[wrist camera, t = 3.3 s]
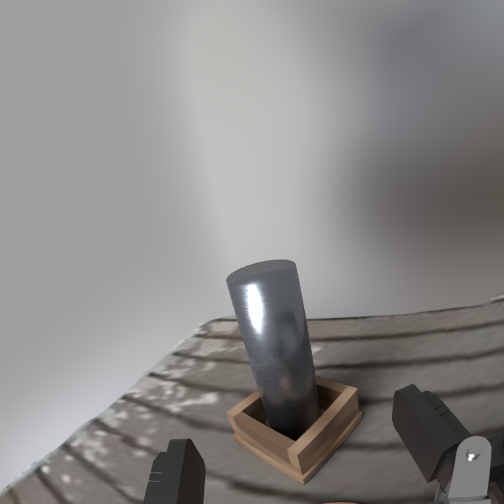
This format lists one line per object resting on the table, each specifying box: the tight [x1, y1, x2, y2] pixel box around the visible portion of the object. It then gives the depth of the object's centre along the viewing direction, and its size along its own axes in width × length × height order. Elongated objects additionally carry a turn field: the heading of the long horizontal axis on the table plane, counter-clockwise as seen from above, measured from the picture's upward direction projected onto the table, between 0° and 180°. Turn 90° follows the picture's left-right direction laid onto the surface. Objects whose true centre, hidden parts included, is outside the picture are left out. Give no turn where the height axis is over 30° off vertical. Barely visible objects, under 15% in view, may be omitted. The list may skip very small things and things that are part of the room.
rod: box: [226, 260, 321, 442], centre depth 21 cm, size 5×5×16 cm
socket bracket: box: [226, 375, 362, 484], centre depth 23 cm, size 9×9×4 cm
